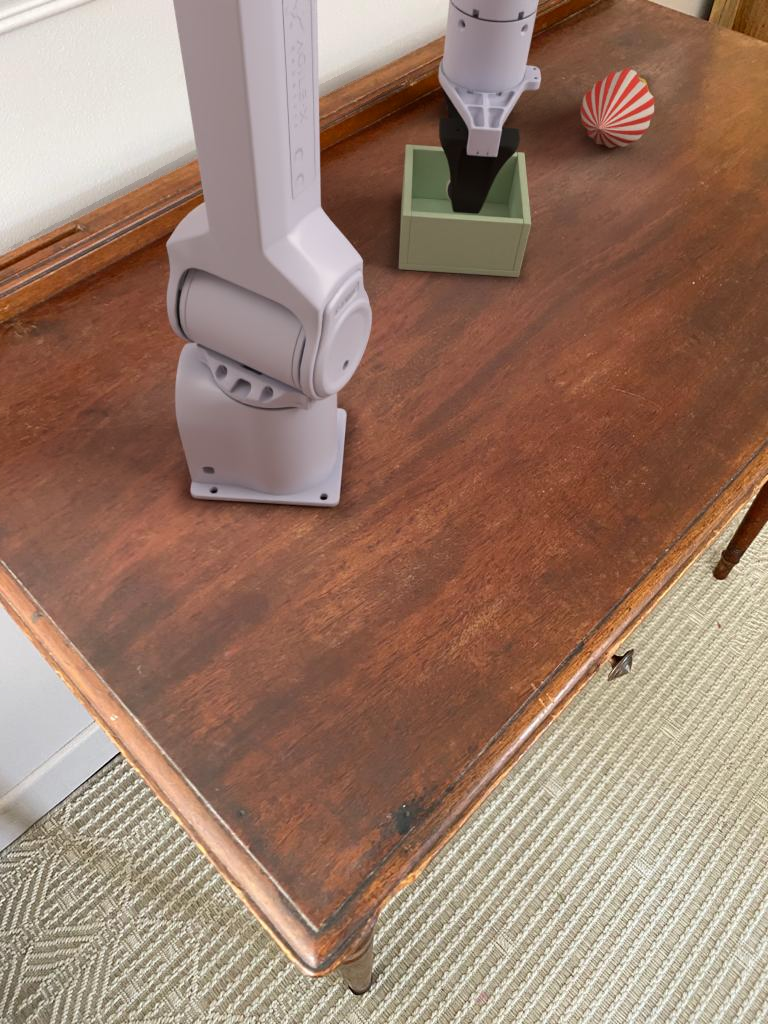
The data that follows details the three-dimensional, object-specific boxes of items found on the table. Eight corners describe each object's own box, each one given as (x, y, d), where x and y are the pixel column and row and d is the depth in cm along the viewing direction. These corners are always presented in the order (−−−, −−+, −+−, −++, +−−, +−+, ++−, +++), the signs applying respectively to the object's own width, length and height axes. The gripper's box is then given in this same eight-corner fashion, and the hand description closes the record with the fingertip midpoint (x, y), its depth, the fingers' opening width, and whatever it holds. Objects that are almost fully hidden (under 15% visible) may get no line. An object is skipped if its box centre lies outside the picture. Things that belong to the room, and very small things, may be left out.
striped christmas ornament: (639, 127, 85) (593, 183, 71) (603, 77, 84) (549, 125, 70) (690, 84, 81) (652, 135, 67) (653, 31, 79) (606, 71, 65)
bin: (398, 269, 64) (403, 215, 60) (401, 198, 69) (405, 144, 65) (518, 277, 64) (531, 223, 60) (512, 206, 69) (524, 152, 65)
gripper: (564, 63, 48) (520, 251, 59) (547, -45, 56) (511, 138, 67) (447, 55, 47) (425, 244, 59) (446, -53, 55) (427, 132, 67)
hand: (465, 187), depth 63 cm, fingers closed on wristwatch, 5 cm apart
